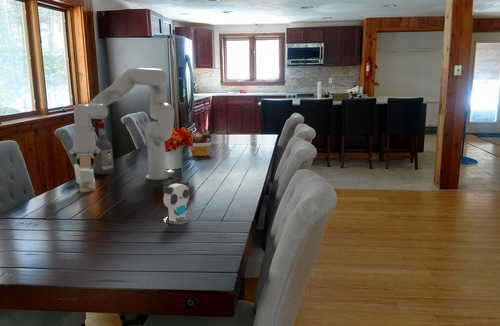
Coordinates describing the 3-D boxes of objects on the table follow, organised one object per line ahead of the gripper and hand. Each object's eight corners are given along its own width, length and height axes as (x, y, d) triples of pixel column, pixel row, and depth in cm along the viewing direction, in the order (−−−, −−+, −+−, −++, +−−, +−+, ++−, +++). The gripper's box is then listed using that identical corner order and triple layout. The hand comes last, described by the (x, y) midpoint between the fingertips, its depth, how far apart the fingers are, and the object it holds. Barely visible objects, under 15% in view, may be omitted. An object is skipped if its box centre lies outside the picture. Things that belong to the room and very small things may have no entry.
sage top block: (94, 178, 215) (93, 169, 214) (93, 181, 210) (93, 171, 209) (81, 179, 213) (80, 169, 212) (80, 182, 208) (80, 172, 207)
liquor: (92, 173, 248) (89, 122, 242) (103, 170, 256) (100, 121, 250) (105, 174, 244) (102, 123, 238) (115, 171, 253) (112, 121, 247)
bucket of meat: (210, 158, 296) (210, 130, 292) (187, 158, 296) (186, 129, 292) (212, 153, 316) (212, 126, 312) (190, 153, 315) (189, 126, 311)
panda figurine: (177, 227, 160) (176, 189, 157) (156, 222, 166) (154, 185, 163) (197, 218, 170) (197, 182, 167) (176, 213, 176) (175, 179, 173)
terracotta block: (91, 165, 213) (90, 153, 212) (91, 167, 208) (90, 155, 207) (81, 166, 212) (80, 154, 210) (80, 168, 207) (79, 156, 206)
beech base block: (95, 187, 217) (94, 178, 216) (94, 191, 210) (94, 181, 209) (80, 188, 215) (80, 179, 214) (79, 192, 208) (79, 182, 207)
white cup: (85, 184, 222) (84, 166, 220) (72, 183, 224) (71, 165, 222) (94, 181, 230) (92, 163, 228) (81, 180, 231) (79, 162, 229)
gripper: (102, 128, 212) (104, 163, 216) (65, 129, 207) (68, 165, 211) (101, 130, 205) (103, 166, 209) (63, 131, 200) (66, 168, 204)
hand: (85, 165), depth 210 cm, fingers closed on terracotta block, 5 cm apart
